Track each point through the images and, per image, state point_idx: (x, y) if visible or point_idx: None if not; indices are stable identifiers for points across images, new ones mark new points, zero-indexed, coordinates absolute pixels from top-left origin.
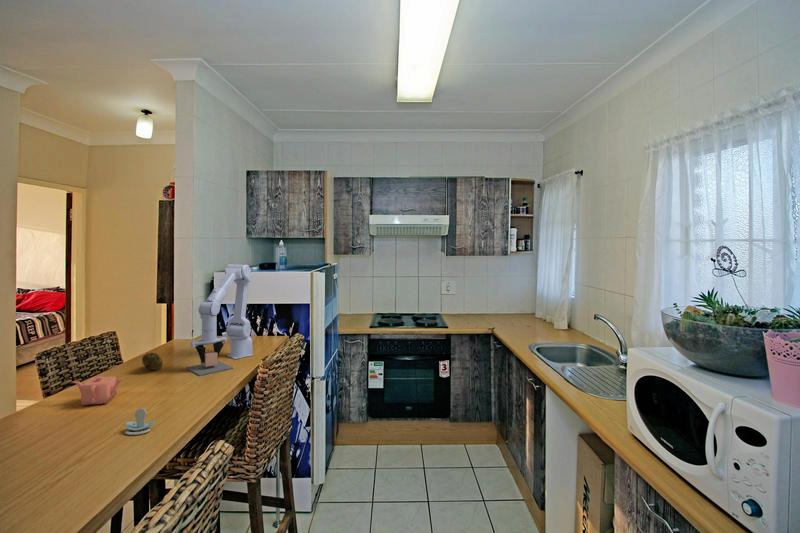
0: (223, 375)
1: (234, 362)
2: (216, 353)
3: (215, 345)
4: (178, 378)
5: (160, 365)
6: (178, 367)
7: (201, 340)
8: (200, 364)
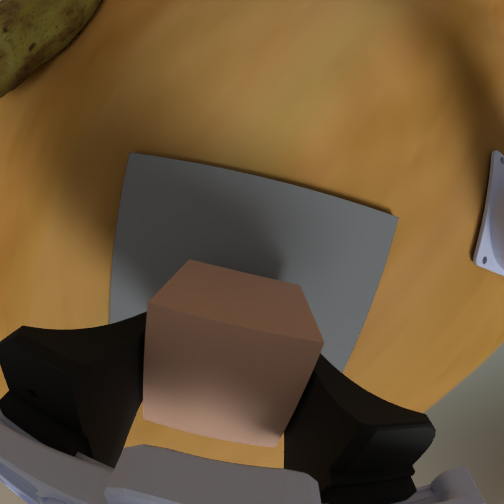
0: (205, 447)
1: (426, 318)
2: (262, 443)
3: (311, 475)
4: (38, 303)
5: (47, 55)
6: (133, 80)
7: (35, 493)
8: (246, 174)
